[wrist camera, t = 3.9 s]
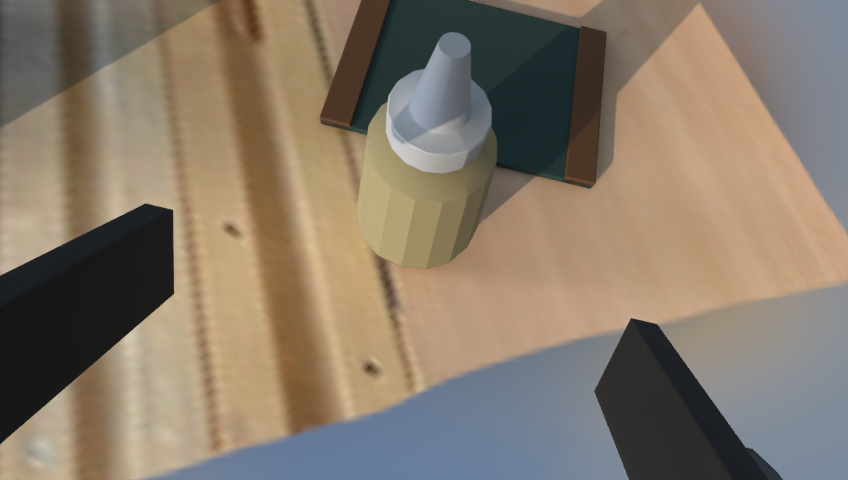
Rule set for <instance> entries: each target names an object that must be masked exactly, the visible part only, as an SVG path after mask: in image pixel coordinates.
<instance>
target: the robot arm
mask: <svg viewBox="0 0 848 480" xmlns="http://www.w3.org/2000/svg"><path fill="white" fill-rule="evenodd" d="M173 294H174V253H173V210H171V209H167V208H162V207H158V206H154V205H150V204H144V205H142V206H140V207H138V208H136V209H134V210H132V211H130V212H128V213H126V214H124V215H122V216H120V217H118V218H115V219H113V220H111V221H109V222H107V223H105V224H103V225H101V226H99V227H97V228H95V229H93V230H91V231H89V232H87V233H85V234H83V235H81V236H79V237H77V238H75V239H73V240H71V241H69V242H67V243H65V244H63V245H61V246H59V247H57V248H55V249H53V250H51V251H49V252H47V253H45V254H43V255H41V256H39V257H37V258H35V259H33V260H31V261H29V262H27V263H25V264H23V265H21V266H19V267H17V268H15V269H13V270H11V271H9V272H7V273H5V274H3V275H1V276H0V444H1V443H2V442H3V441H4V440H5V439H7V438H8V437H9V436H10V435H11V434H12V433H13V432H15V431H16V430H17V429H18V428H19V427H20V426H22V425H23V424H24V423H25V422H26V421H27V420H29V419H30V418H31V417H32V416H33V415H34V414H35V413H37V412H38V411H39V410H40V409H41V408H42V407H44V406H45V405H46V404H47V403H48V402H49V401H51V400H52V399H53V398H54V397H55V396H56V395H57V394H59V393H60V392H61V391H62V390H63V389H64V388H66V387H67V386H68V385H69V384H70V383H71V382H73V381H74V380H75V379H76V378H77V377H78V376H79V375H81V374H82V373H83V372H84V371H85V370H86V369H88V368H89V367H90V366H91V365H92V364H93V363H94V362H96V361H97V360H98V359H99V358H100V357H101V356H103V355H104V354H105V353H106V352H107V351H108V350H110V349H111V348H112V347H113V346H114V345H115V344H116V343H118V342H119V341H120V340H121V339H122V338H123V337H125V336H126V335H127V334H128V333H129V332H130V331H132V330H133V329H134V328H135V327H136V326H137V325H138V324H140V323H141V322H142V321H143V320H144V319H145V318H147V317H148V316H149V315H150V314H151V313H152V312H154V311H155V310H156V309H157V308H158V307H159V306H160V305H162V304H163V303H164V302H165V301H166V300H167V299H169V298H170V297H171V296H172V295H173ZM595 394H596V397H597V399H598V402H599V404H600V407H601V409H602V412H603V414H604V417H605V420H606V422H607V425H608V427H609V429H610V432H611V435H612V437H613V440H614V442H615V445H616V447H617V450H618V452H619V455H620V458H621V460H622V462H623V465H624V468H625V470H626V473H627V475H628V478H629V480H783V479H782V478H781V477H780V476H779V474H778V473H777V472H776V471H775V470H774V469H773V468H772V467H771V466H770V465H769V464H768V463H767V462H766V461H765V460H764V459H762V458H761V457H760V456H759V455H758V454H757V453H756V452H755V451H754V450H753V449H750V448H745V446H744V445H743V443H742V442H741V441H740V439H739V438H738V436H737V435H736V434H735V432H734V431H733V429H732V428H731V427H730V425H729V424H728V422H727V421H726V420H725V418H724V417H723V416H722V414H721V413H720V411H719V410H718V409H717V407H716V406H715V404H714V403H713V402H712V400H711V399H710V398H709V396H708V395H707V393H706V392H705V390H704V389H703V388H702V386H701V385H700V384H699V382H698V381H697V379H696V378H695V377H694V375H693V374H692V372H691V371H690V369H689V368H688V367H687V365H686V364H685V362H684V361H683V360H682V358H681V357H680V356H679V354H678V353H677V351H676V350H675V349H674V347H673V346H672V344H671V343H670V342H669V340H668V339H667V337H666V336H665V335H664V333H663V332H662V330H661V329H660V328H659V326H658V325H657V324H654V323H649V322H645V321H641V320H637V319H633V318H631V319H630V321H629V323H628V325H627V327H626V329H625V331H624V333H623V335H622V337H621V339H620V341H619V343H618V345H617V347H616V349H615V351H614V353H613V355H612V357H611V359H610V361H609V363H608V365H607V367H606V369H605V371H604V373H603V375H602V377H601V379H600V381H599V383H598V385H597V387H596V389H595Z"/></svg>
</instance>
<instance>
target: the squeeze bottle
mask: <svg viewBox="0 0 848 480" xmlns="http://www.w3.org/2000/svg"><path fill="white" fill-rule="evenodd" d="M491 126H492V107H491V105H490V103H489V101H488V98H487V96H486V94H485V92H484V91H483V90H482V89H481V88H480V87H479V86H478V85H477V84H476V83H475V82H474V81H473V80H472V79H471V44H470V42H469V40H468V39H467V38H466V37H465V36H464V35H462V34H460V33H455V32H450V33H446V34H444V35H443V36H441V38H440V39H439V41H438V43H437V45H436V47H435V50H434V52H433V54H432V56H431V58H430V60H429V62H428V64H427V66H426V68H425V69H422V70H417V71H413V72H411V73H410V74H408V75H407V76H405V77H404V78H402V79H400V80H399V81H398V82H397V83H396V85H395V86H394V88H393V89H392V91H391V93H390V94H389V96H388V102H386V103H385V104H383V105H382V106H381V107H380V108H379V110H378V111H377V113H376V114H375V116H374V117H373V119H372V120H371V122H370V123H369V127H368V134H367V140H366V147H365V154H364V161H363V167H362V174H361V181H360V188H359V195H358V203H357V210H356V217H357V220H358V224H359V227H360V230H361V233H362V236H363V238H364V239H365V240H366V242H367V243H368V244H369V245H370V246H371V247H372V248H373V250H374V251H375V252H376V253H377V254H378V255H379V256H381V257H383V258H385V259H387V260H389V261H391V262H392V263H394V264H396V265H398V266H400V267H409V268H420V269H428V268H431V267H435V266H438V265H441V264H445V263H448V262H450V261H451V260H452V259H454V258H455V257H456V256H457V255H458V254H460V253H461V252H462V251H463V250H464V249H466V248H467V247H468V244H469V242H470V240H471V238H472V236H473V234H474V232H475V230H476V228H477V225H478V222H479V219H480V215H481V212H482V209H483V205H484V202H485V199H486V195H487V192H488V189H489V185H490V182H491V179H492V176H493V172H494V169H495V166H496V162H497V138H496V136H495V134H494V131H493V129H492V127H491Z"/></svg>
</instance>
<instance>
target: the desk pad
mask: <svg viewBox="0 0 848 480" xmlns="http://www.w3.org/2000/svg"><path fill="white" fill-rule="evenodd" d="M450 32H455V33H460V34H462V35H464V36H465V37H466V38H467V39H468V40H469V42H470V44H471V79H472V80H473V81H474V82H475V83H476V84H477V85H478V86H479V87H480V88H481V89H482V90H483V91H484V92H485V94H486V96H487V98H488V101H489V103H490V105H491V107H492V126H491V127H492V129H493V131H494V134H495V136H496V138H497V162H496V166H499V167H503V168H507V169H511V170H516V171H520V172H524V173H528V174H532V175H536V176H541V177H545V178H549V179H553V180H557V181H561V182H566V183H570V184H574V185H578V186H582V187H586V188H591V187H592V186H593V185H594V184H595V177H596V164H597V151H598V137H599V124H600V111H601V98H602V84H603V71H604V58H605V44H606V32H604V31H600V30H596V29H592V28H588V27H584V26H581V28H576V27H572V26H568V25H564V24H560V23H556V22H552V21H548V20H544V19H540V18H536V17H532V16H528V15H524V14H520V13H516V12H512V11H508V10H504V9H500V8H496V7H492V6H488V5H484V4H480V3H476V2H472V1H468V0H362V1H361V3H360V6H359V9H358V12H357V15H356V17H355V20H354V23H353V26H352V29H351V31H350V34H349V37H348V40H347V43H346V45H345V48H344V51H343V54H342V57H341V59H340V62H339V65H338V68H337V71H336V73H335V76H334V79H333V82H332V85H331V87H330V90H329V93H328V96H327V99H326V101H325V104H324V107H323V110H322V113H321V115H320V120H321V124H324V125H328V126H333V127H337V128H341V129H345V130H349V131H353V132H358V133H362V134H366V135H367V134H368V127H369V123H370V122H371V120H372V119H373V117H374V116H375V114H376V113H377V111H378V110H379V108H380V107H381V106H382V105H383V104H385V103H386V102H388V96H389V94H390V93H391V91H392V89H393V88H394V86H395V85H396V83H397V82H398V81H399V80H400V79H402V78H404V77H405V76H407V75H408V74H410V73H411V72H413V71H417V70H422V69H425V68H426V66H427V64H428V62H429V60H430V58H431V56H432V54H433V52H434V50H435V47H436V45H437V43H438V41H439V39H440V38H441V36H443V35H444V34H446V33H450Z"/></svg>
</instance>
